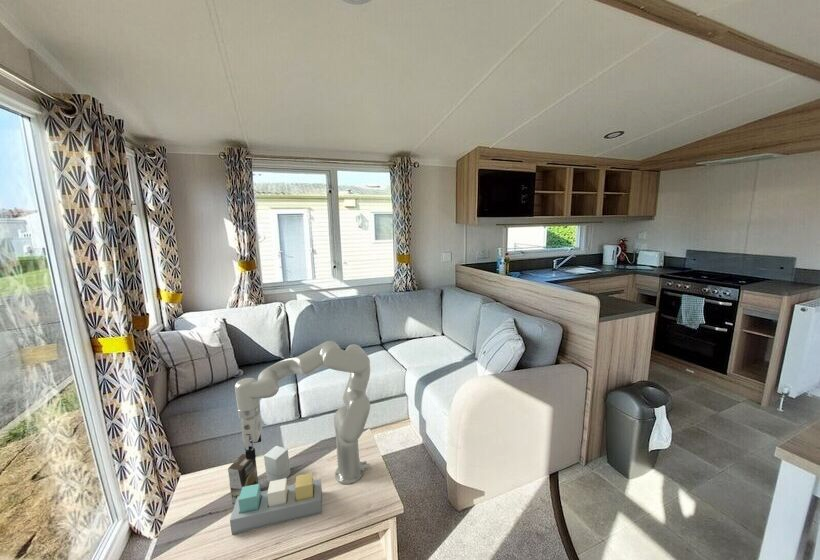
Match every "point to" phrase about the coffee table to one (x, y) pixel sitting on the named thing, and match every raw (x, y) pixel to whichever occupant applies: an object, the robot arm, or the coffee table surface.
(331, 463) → the coffee table surface
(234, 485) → the coffee box
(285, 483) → the ivory key
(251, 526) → the key console
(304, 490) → the mustard key
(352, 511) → the coffee table surface
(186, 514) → the coffee table surface
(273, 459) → the supplement box
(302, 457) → the coffee table surface
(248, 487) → the teal key
